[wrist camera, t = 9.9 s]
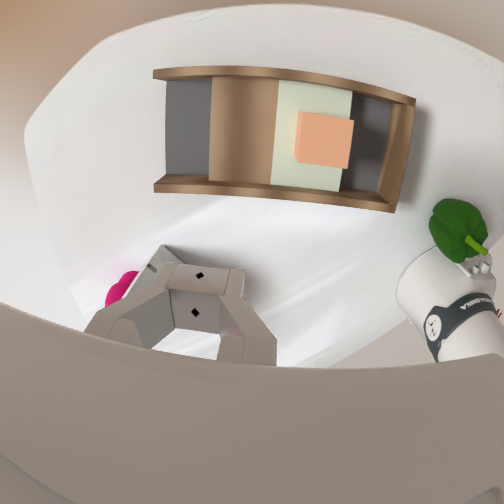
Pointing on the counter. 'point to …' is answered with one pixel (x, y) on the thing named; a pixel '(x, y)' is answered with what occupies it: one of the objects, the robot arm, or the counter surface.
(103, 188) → the counter surface
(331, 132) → the block
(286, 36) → the counter surface
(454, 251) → the bell pepper
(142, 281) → the skincare box
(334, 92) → the box
